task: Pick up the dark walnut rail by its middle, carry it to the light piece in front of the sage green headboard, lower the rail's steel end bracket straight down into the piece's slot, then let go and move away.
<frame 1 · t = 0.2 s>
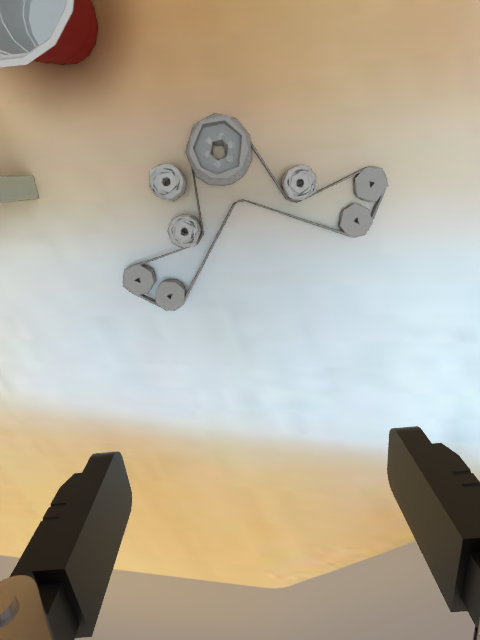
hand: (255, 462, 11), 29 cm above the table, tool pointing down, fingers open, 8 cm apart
pulley system: (238, 200, 37), on the table
plastic cup: (65, 28, 31), on the table
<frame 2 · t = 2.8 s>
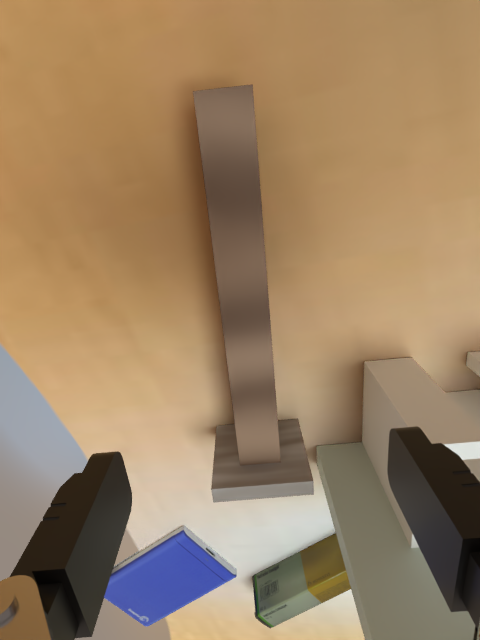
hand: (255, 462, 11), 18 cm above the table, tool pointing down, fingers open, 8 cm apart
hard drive: (167, 567, 40), on the table
light piece: (435, 397, 31), on the table
medication box: (305, 555, 39), on the table
rail: (243, 288, 28), on the table
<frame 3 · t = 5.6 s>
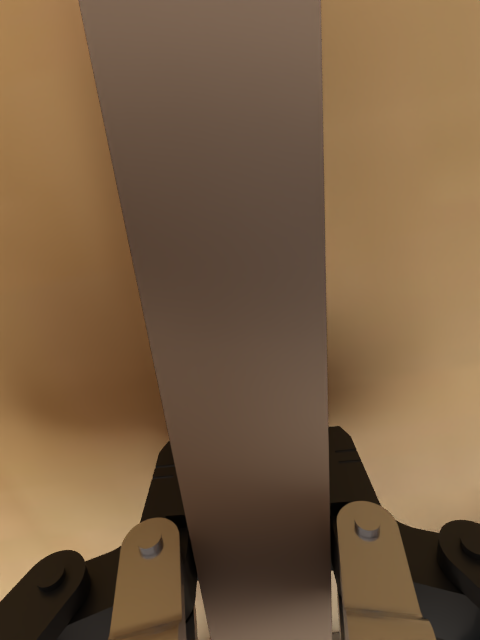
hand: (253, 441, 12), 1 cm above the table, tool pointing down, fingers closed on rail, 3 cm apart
rail: (253, 422, 13), on the table, touching gripper
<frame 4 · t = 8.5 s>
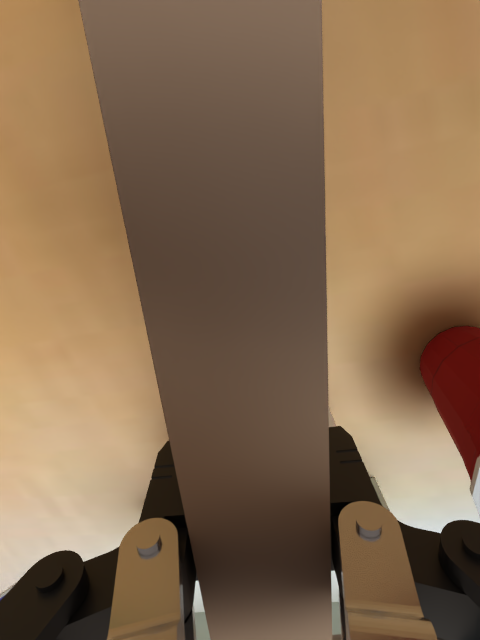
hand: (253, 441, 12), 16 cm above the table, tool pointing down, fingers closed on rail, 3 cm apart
light piece: (258, 451, 32), on the table
plastic cup: (454, 360, 29), on the table
rail: (253, 423, 13), point 15 cm above the table, touching gripper
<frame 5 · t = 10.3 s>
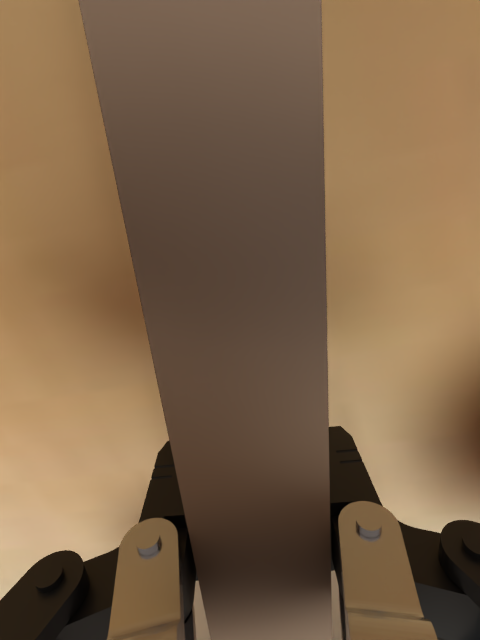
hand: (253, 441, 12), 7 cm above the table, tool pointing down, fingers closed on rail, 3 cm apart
light piece: (267, 551, 23), on the table
rail: (253, 424, 13), point 6 cm above the table, touching gripper
when the fingers open (2 cm above the table, at t = 11.6 s): rail drops 1 cm, on the table.
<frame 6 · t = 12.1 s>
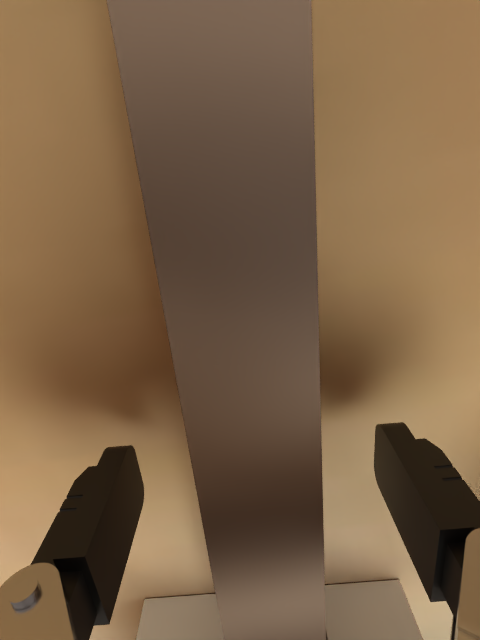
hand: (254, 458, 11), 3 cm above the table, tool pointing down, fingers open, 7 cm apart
rail: (253, 403, 14), on the table
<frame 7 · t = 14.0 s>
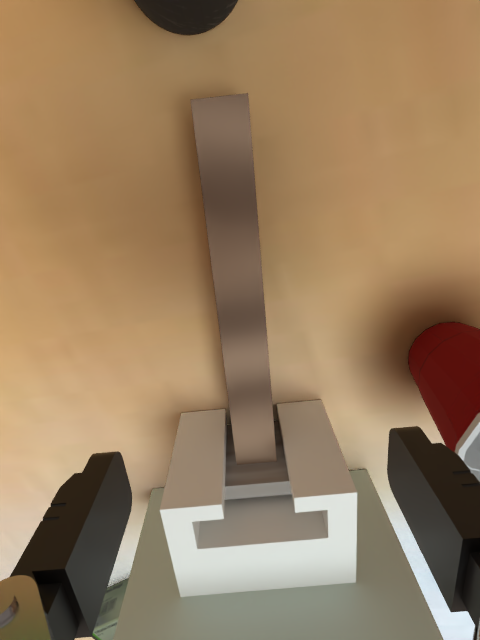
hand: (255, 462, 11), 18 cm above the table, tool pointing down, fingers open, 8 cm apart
light piece: (255, 444, 33), on the table
medication box: (151, 575, 40), on the table
plastic cup: (441, 355, 31), on the table
rail: (240, 290, 28), on the table
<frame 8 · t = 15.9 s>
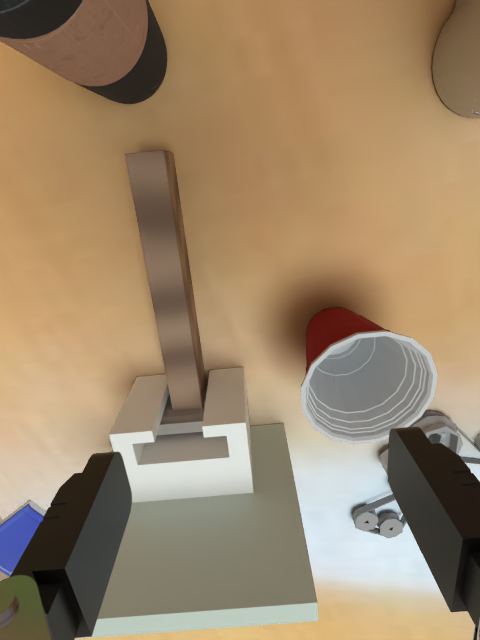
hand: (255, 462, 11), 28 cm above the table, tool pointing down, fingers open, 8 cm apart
pulley system: (437, 452, 47), on the table
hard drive: (28, 534, 52), on the table
light piece: (195, 402, 43), on the table
travel mug: (125, 56, 31), on the table
plastic cup: (332, 333, 41), on the table
rail: (177, 282, 38), on the table
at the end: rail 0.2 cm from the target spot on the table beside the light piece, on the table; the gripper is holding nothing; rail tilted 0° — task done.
